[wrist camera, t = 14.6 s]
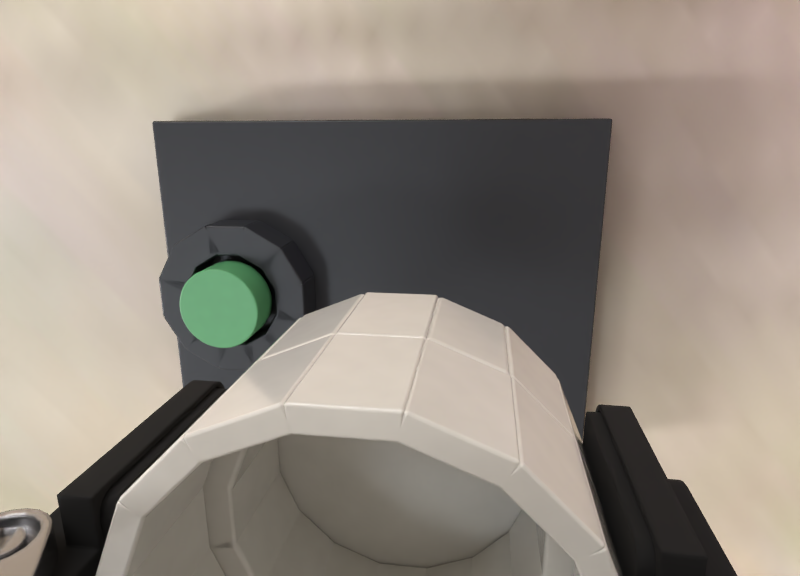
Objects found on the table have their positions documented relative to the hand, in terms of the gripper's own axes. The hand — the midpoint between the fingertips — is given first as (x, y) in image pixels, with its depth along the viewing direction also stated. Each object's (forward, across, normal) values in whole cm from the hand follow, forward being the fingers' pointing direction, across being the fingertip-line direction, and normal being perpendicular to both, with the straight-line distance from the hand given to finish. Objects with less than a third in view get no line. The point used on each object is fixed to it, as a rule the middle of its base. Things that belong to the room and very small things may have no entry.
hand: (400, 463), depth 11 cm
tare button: (+11, +8, 0) cm, 14 cm away
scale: (+14, +3, 0) cm, 14 cm away
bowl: (+1, 0, 0) cm, 1 cm away
